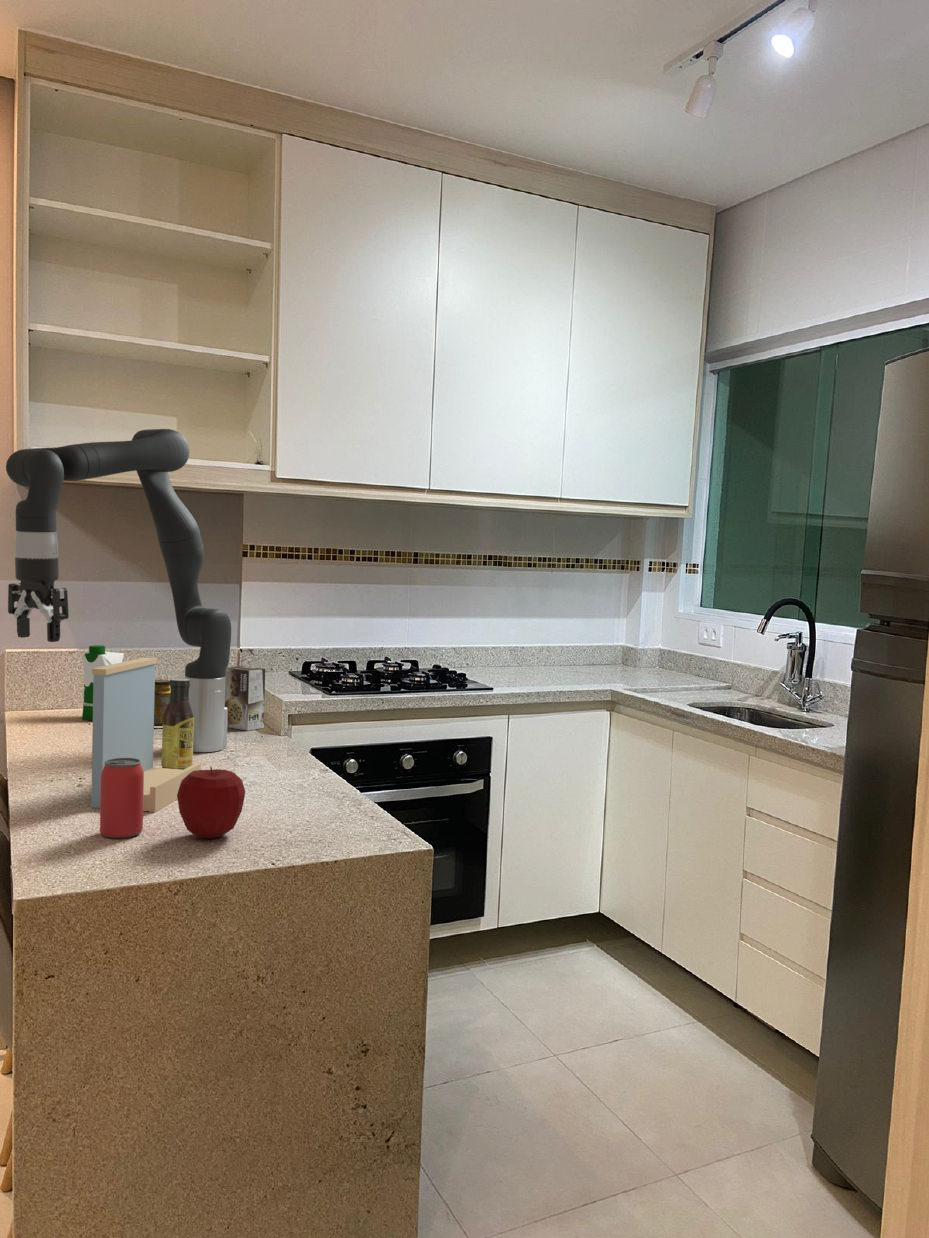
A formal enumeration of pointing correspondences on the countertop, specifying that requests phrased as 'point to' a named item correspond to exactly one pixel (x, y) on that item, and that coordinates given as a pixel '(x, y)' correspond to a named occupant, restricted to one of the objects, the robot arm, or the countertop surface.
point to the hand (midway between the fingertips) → (38, 639)
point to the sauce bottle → (178, 728)
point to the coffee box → (245, 697)
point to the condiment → (161, 700)
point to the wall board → (130, 729)
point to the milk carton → (90, 661)
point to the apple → (210, 802)
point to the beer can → (121, 798)
